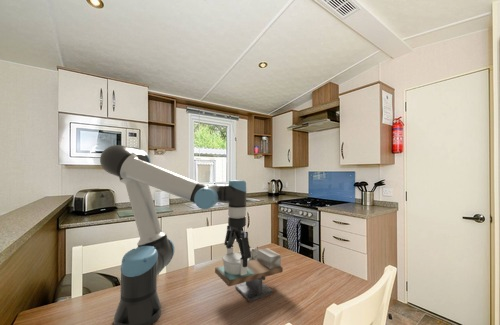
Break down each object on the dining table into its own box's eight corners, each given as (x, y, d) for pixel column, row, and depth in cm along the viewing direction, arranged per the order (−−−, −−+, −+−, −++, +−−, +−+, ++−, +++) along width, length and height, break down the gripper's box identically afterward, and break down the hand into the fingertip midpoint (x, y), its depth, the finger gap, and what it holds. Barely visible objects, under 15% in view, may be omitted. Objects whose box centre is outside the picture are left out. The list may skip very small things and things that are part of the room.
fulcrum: (249, 302, 87) (250, 283, 87) (235, 288, 97) (235, 271, 97) (272, 293, 93) (273, 276, 94) (257, 280, 103) (257, 265, 104)
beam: (229, 289, 80) (231, 268, 81) (213, 273, 93) (215, 255, 93) (283, 274, 95) (284, 257, 95) (263, 262, 108) (264, 246, 108)
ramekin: (245, 278, 84) (246, 264, 84) (218, 274, 86) (219, 260, 86) (250, 266, 95) (251, 254, 95) (226, 263, 97) (227, 251, 97)
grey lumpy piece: (255, 265, 128) (264, 250, 130) (254, 266, 120) (264, 250, 122) (243, 256, 130) (252, 242, 133) (241, 256, 122) (251, 241, 125)
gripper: (260, 221, 83) (259, 278, 83) (231, 210, 103) (231, 256, 102) (244, 223, 79) (243, 283, 79) (217, 212, 99) (216, 260, 98)
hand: (236, 268), depth 90 cm, fingers closed on ramekin, 11 cm apart
